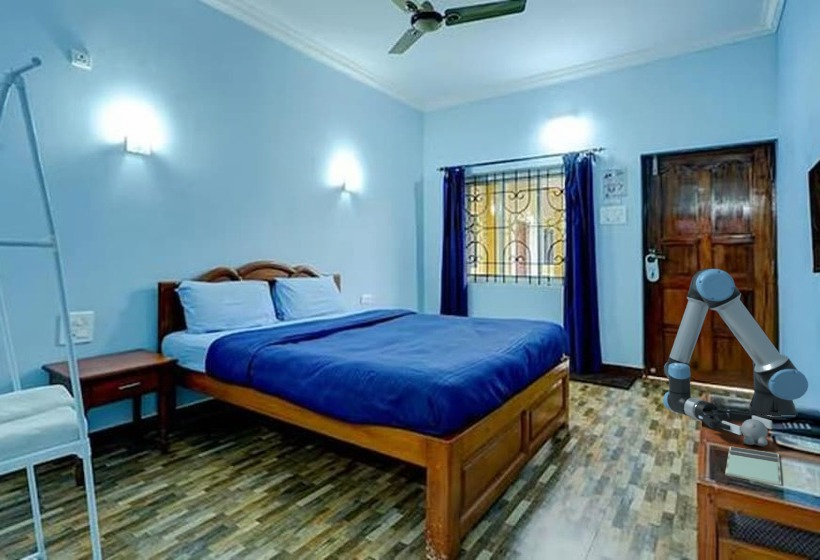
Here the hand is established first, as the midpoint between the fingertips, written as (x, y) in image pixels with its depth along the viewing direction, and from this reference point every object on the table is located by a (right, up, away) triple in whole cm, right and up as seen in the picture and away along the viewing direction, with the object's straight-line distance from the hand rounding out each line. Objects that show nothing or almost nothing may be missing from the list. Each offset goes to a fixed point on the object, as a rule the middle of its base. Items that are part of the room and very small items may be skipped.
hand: (756, 427), depth 159 cm
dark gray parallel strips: (-7, -6, -8) cm, 12 cm away
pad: (-14, -7, -17) cm, 23 cm away
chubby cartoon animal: (+1, -6, +2) cm, 7 cm away
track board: (-11, -7, -14) cm, 19 cm away
